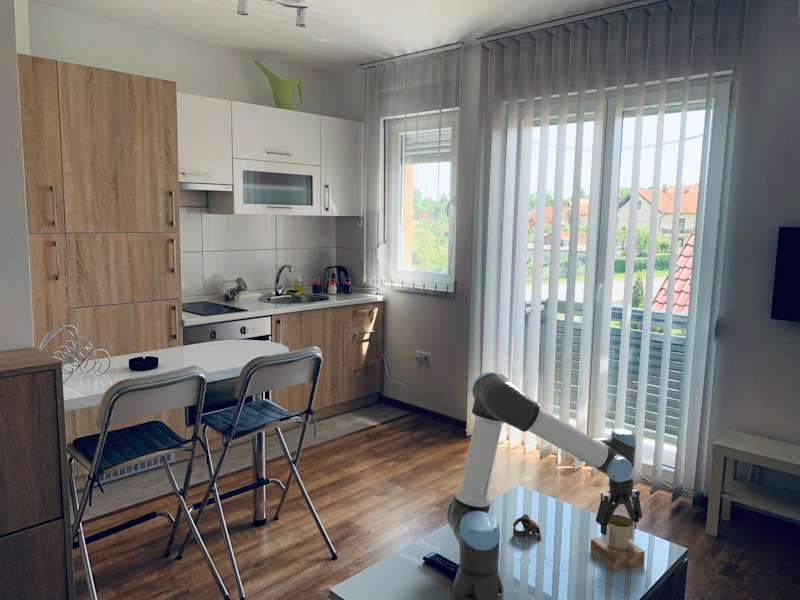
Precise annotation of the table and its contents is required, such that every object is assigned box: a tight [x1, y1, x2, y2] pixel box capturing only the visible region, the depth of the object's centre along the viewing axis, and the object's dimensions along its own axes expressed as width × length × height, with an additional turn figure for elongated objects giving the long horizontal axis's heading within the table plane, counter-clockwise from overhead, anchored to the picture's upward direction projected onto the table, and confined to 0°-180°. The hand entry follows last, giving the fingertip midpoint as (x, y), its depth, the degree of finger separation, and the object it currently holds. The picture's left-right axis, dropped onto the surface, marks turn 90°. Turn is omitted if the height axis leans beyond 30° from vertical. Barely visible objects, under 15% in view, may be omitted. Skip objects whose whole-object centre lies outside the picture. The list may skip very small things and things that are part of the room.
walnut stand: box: [590, 536, 645, 573], centre depth 199 cm, size 12×12×5 cm
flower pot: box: [608, 513, 634, 550], centre depth 198 cm, size 9×9×9 cm
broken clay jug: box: [512, 514, 542, 541], centre depth 213 cm, size 12×10×8 cm
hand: (617, 540), depth 198 cm, fingers closed on flower pot, 9 cm apart
